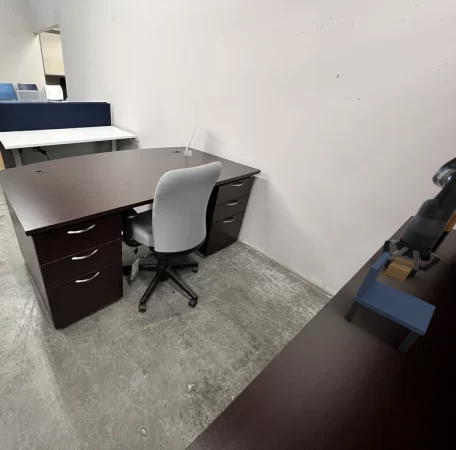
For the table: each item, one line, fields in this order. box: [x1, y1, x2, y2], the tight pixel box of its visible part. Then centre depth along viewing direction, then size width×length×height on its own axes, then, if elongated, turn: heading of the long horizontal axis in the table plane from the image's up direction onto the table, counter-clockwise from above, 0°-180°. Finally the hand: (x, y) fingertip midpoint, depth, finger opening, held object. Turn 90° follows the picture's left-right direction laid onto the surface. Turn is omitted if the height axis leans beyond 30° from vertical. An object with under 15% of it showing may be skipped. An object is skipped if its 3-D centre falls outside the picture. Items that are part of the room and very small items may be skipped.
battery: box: [421, 211, 456, 261], centre depth 90 cm, size 7×7×20 cm
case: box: [383, 256, 413, 283], centre depth 82 cm, size 5×9×4 cm, turn 126°
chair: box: [344, 252, 437, 354], centre depth 59 cm, size 13×13×17 cm
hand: (397, 272), depth 83 cm, fingers closed on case, 5 cm apart
